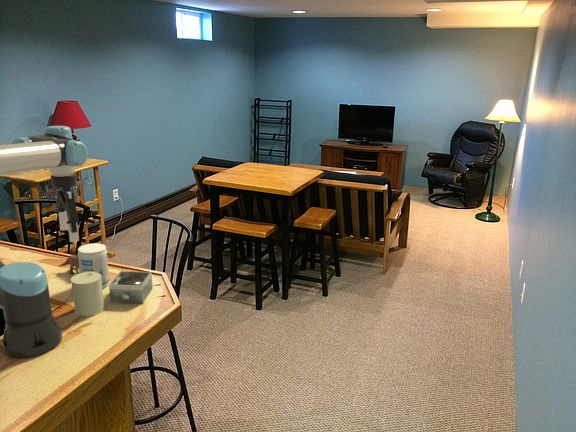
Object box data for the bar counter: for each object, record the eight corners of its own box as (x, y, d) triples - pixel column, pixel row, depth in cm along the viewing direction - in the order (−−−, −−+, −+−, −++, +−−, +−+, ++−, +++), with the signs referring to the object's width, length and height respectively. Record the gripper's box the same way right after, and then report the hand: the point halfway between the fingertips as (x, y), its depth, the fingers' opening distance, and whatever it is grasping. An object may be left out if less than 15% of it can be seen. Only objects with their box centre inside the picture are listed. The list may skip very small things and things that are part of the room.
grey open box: (141, 305, 159) (140, 288, 157) (109, 304, 159) (107, 286, 157) (152, 288, 171) (151, 272, 169) (122, 287, 171) (120, 271, 169)
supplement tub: (83, 293, 166) (78, 255, 161) (79, 283, 174) (74, 245, 169) (112, 287, 171) (108, 249, 166) (106, 277, 178) (103, 241, 174)
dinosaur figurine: (99, 270, 184) (97, 248, 182) (91, 276, 179) (88, 253, 176) (67, 266, 187) (64, 244, 184) (58, 273, 181) (54, 250, 178)
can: (109, 303, 160) (106, 271, 156) (96, 317, 151) (92, 283, 147) (83, 301, 161) (79, 269, 157) (68, 315, 152) (64, 281, 148)
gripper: (85, 180, 148) (91, 244, 154) (66, 166, 167) (72, 223, 173) (59, 182, 144) (66, 248, 150) (42, 168, 163) (49, 227, 169)
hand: (69, 235), depth 162 cm, fingers open, 13 cm apart
